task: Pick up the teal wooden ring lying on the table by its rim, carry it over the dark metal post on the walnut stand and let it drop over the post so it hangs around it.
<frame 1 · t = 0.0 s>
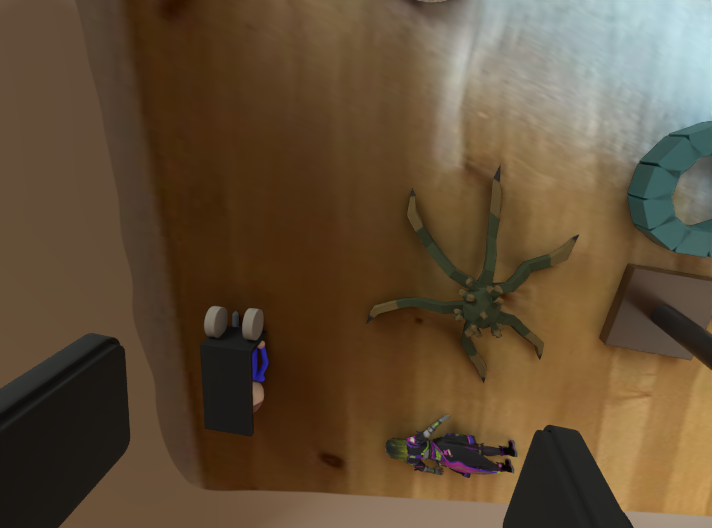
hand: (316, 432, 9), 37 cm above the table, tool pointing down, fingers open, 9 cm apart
figurine character: (249, 349, 53), on the table
octopus toy: (469, 276, 46), on the table
character figure: (447, 441, 53), on the table
ring: (696, 188, 40), on the table
stand: (655, 309, 44), on the table
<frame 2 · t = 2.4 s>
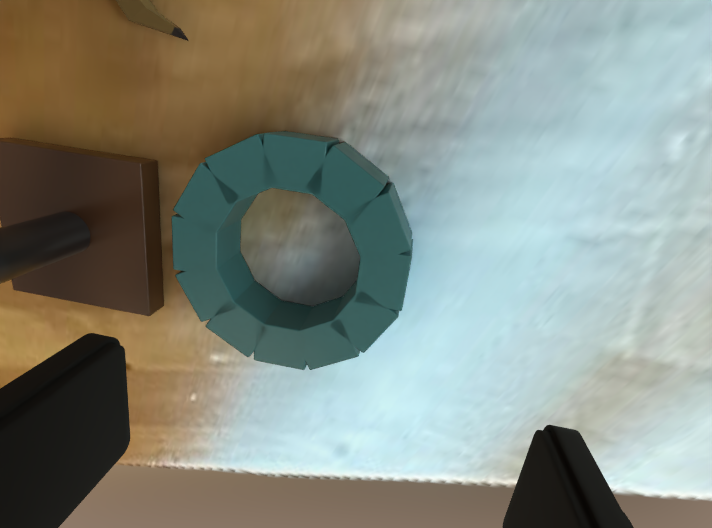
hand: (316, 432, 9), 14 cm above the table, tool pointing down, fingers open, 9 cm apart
ring: (302, 245, 23), on the table
stand: (91, 225, 24), on the table
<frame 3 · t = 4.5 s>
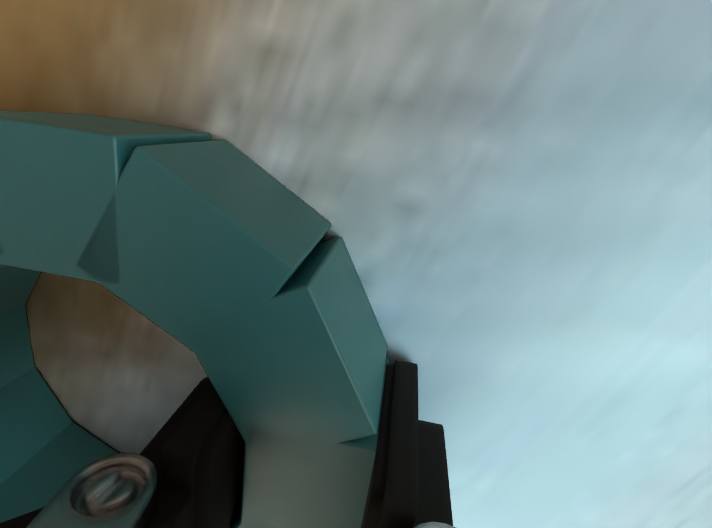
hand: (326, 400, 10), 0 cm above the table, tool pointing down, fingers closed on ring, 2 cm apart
ring: (156, 361, 11), on the table, touching gripper
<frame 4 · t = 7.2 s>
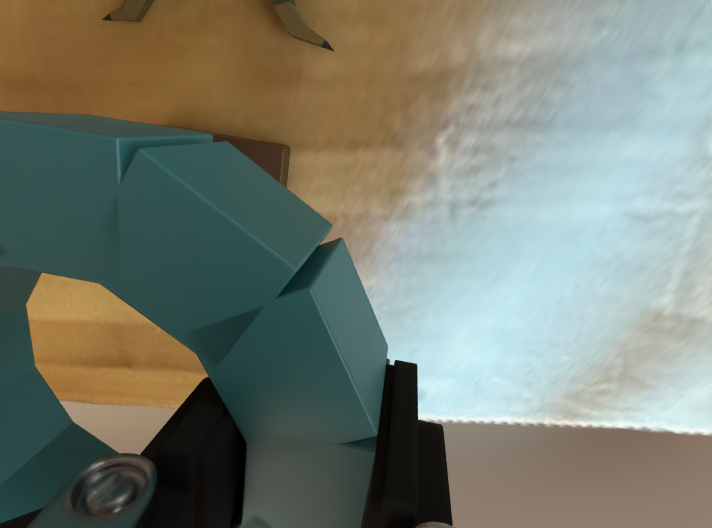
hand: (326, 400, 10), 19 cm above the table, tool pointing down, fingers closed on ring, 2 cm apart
ring: (157, 361, 11), point 19 cm above the table, touching gripper
stand: (224, 199, 29), on the table
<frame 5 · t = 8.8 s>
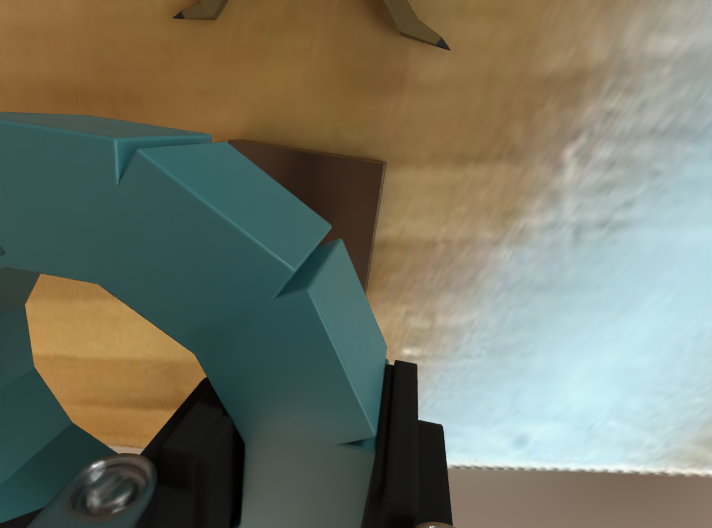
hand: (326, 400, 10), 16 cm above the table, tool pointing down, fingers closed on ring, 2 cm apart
ring: (156, 361, 11), point 16 cm above the table, touching gripper
stand: (304, 223, 26), on the table
when the fingers open (13 cm above the table, at t = 9.8 s): ring drops 11 cm, resting on stand.
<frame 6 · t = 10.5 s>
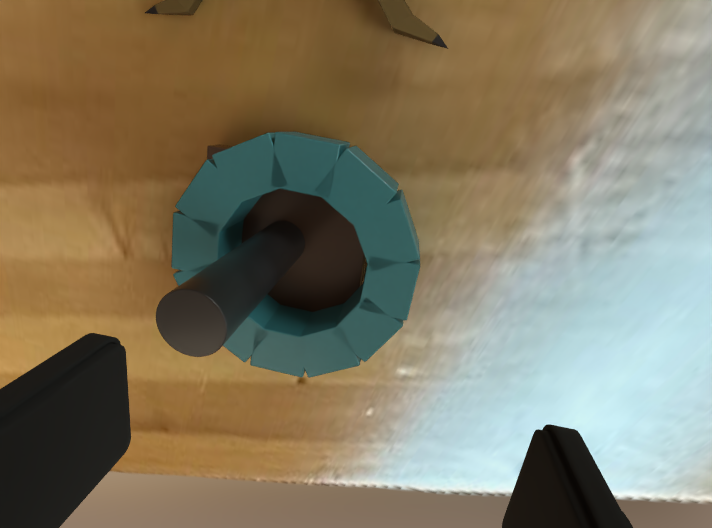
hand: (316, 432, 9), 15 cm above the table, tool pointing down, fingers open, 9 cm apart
ring: (305, 249, 22), point 1 cm above the table, touching stand
stand: (291, 235, 24), on the table
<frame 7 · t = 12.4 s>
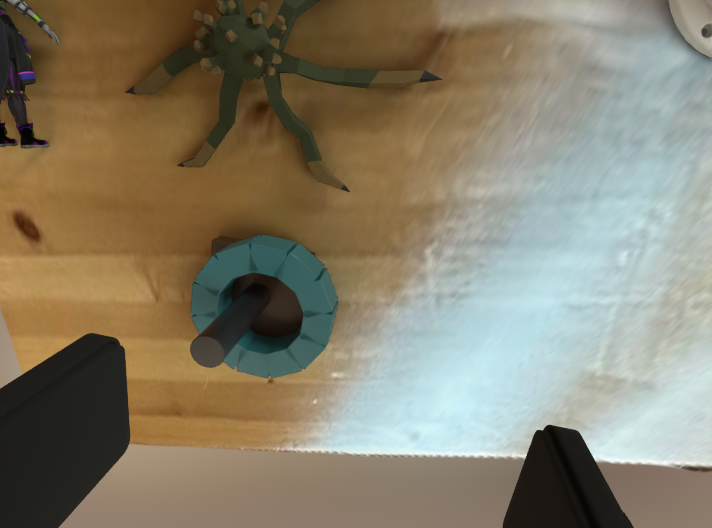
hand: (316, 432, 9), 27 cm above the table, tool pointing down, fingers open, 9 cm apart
octopus toy: (283, 56, 32), on the table
character figure: (14, 47, 34), on the table
ring: (271, 300, 37), point 1 cm above the table, touching stand
stand: (263, 290, 38), on the table
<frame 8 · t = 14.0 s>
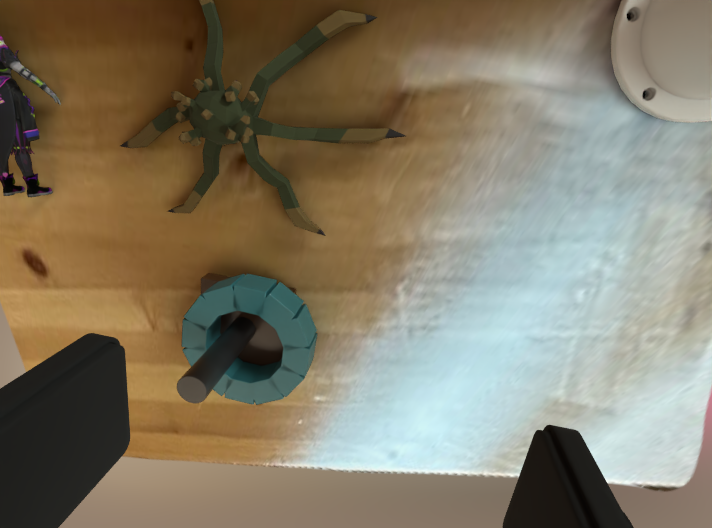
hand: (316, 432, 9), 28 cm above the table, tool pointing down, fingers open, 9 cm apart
octopus toy: (262, 113, 35), on the table
character figure: (20, 105, 38), on the table
ring: (256, 332, 40), point 1 cm above the table, touching stand
stand: (249, 321, 41), on the table
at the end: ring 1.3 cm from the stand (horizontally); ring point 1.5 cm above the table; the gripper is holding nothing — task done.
